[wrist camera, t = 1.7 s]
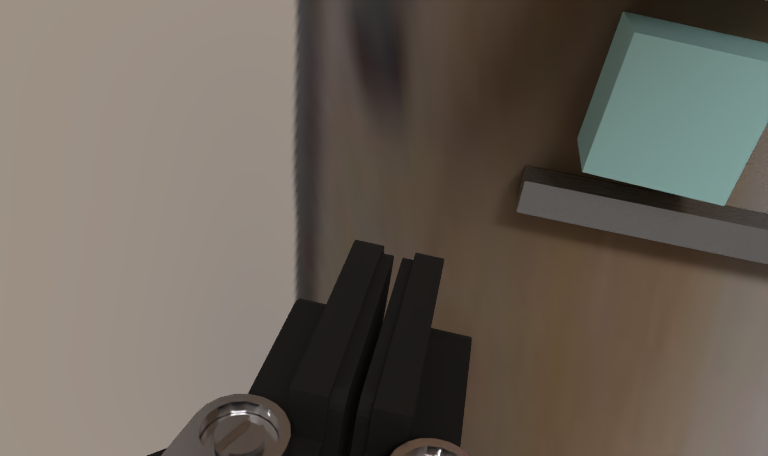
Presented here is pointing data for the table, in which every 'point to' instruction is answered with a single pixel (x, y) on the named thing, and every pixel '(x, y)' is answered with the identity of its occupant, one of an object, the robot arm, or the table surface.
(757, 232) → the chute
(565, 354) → the table surface
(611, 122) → the block
